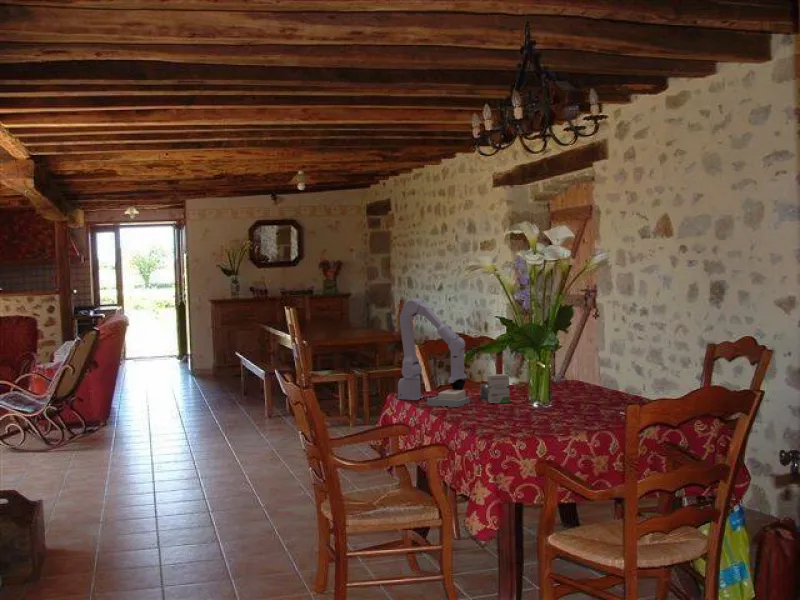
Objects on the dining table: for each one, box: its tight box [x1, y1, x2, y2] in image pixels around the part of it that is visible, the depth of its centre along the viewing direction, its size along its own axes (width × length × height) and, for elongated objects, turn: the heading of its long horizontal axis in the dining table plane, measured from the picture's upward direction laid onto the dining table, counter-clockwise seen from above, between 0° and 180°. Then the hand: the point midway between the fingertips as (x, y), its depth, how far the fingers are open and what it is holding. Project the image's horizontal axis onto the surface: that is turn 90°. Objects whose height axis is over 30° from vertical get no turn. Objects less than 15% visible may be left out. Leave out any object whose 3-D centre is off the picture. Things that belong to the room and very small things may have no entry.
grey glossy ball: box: [479, 383, 488, 400], centre depth 381 cm, size 6×6×6 cm
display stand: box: [426, 395, 471, 408], centre depth 369 cm, size 14×12×3 cm
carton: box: [437, 389, 467, 400], centre depth 372 cm, size 8×10×5 cm
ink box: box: [487, 373, 511, 404], centre depth 371 cm, size 9×5×12 cm, turn 94°
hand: (458, 397), depth 378 cm, fingers closed
